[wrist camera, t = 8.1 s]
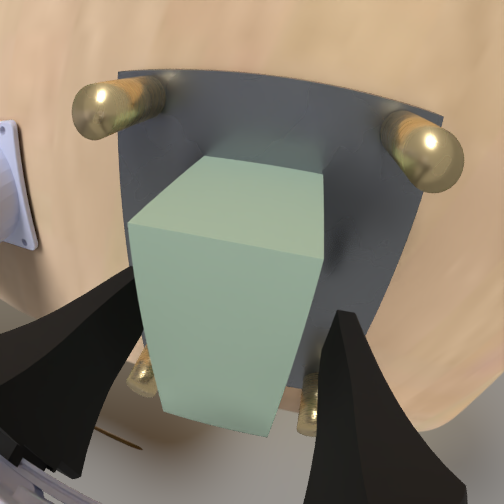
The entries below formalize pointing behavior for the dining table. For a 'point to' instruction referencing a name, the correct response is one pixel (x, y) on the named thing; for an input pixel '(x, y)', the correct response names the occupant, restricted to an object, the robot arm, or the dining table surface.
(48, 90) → the dining table surface
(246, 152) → the plate
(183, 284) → the board block
